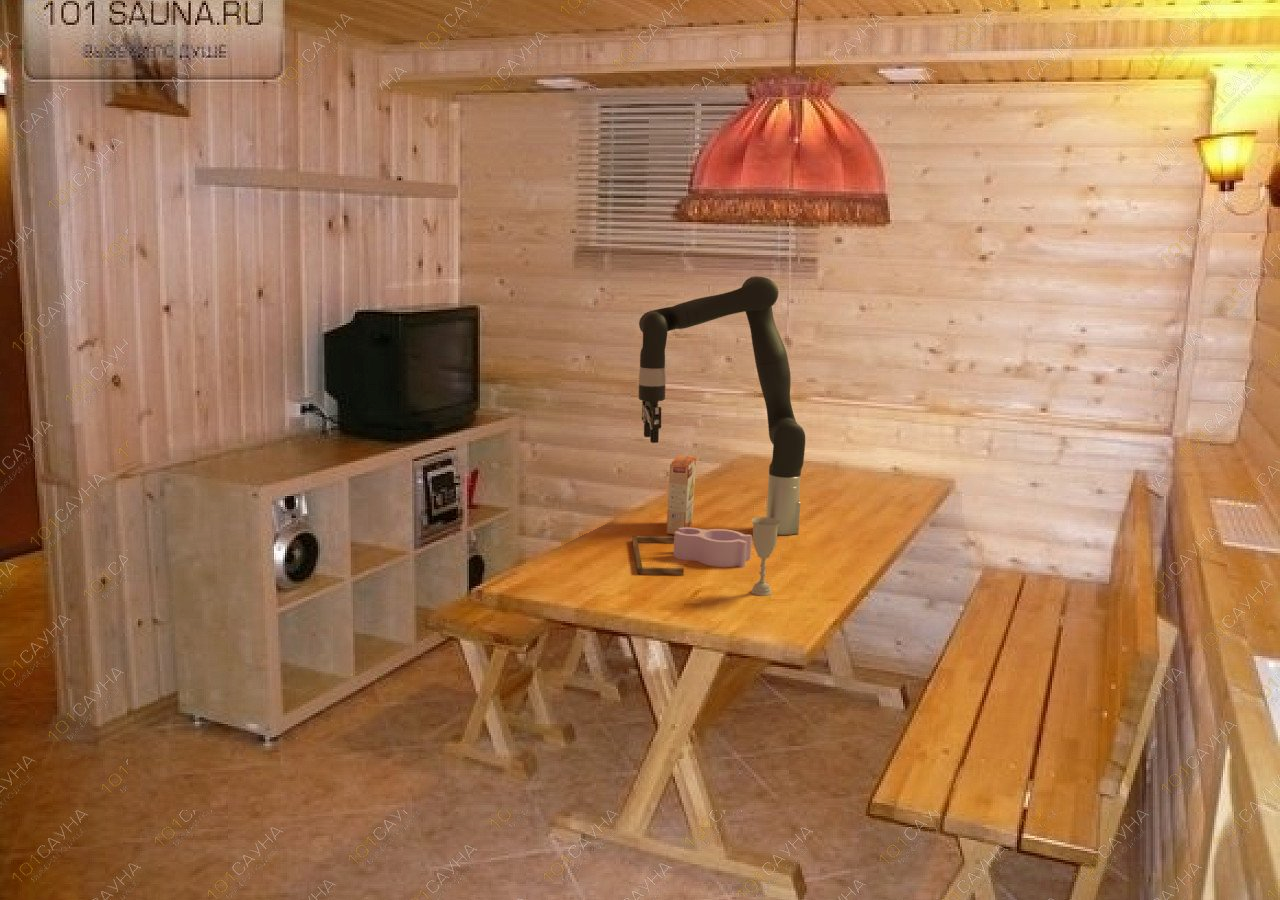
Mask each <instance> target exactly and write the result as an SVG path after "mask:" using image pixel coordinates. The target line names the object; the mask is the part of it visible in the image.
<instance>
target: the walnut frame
mask: <svg viewBox="0 0 1280 900" xmlns="http://www.w3.org/2000/svg"><path fill="white" fill-rule="evenodd" d="M631 537H632V538H631V541H632V542H631V544H632V547H633V548H632V549H633V553H634V559H635V561H634V562H635V565H636V572H637V575H644V576H645V575H649V576H650V575H656V576H660V575H661V576H684V572H685V569H684V567H648V566H647V567H643V563H642V558H641V553H640V547H639V543H640V544H641V543H643V544H646V543H647V544H649V543H650V544H674V536H651V535H650V536H647V535H646V536H645V535H641V536H640V535H637V536H636V535H633V536H631Z"/></svg>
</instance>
